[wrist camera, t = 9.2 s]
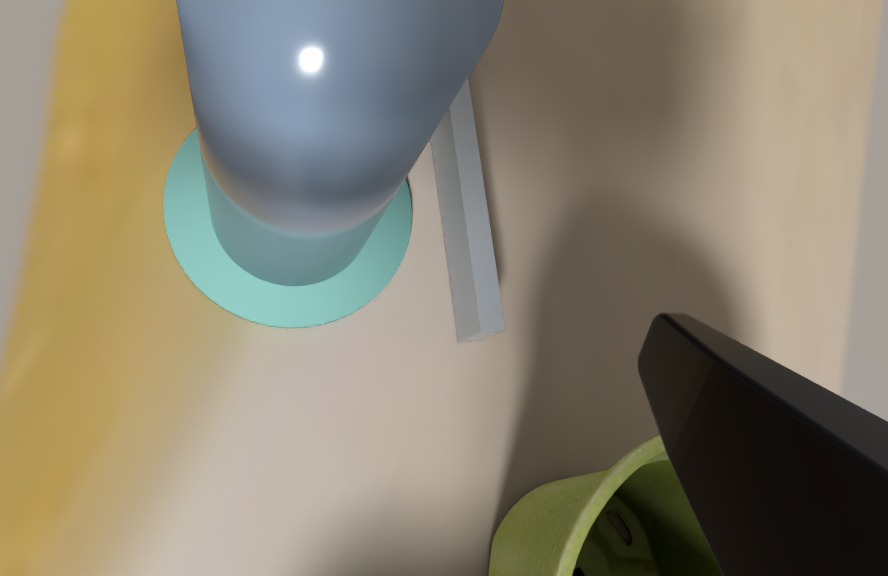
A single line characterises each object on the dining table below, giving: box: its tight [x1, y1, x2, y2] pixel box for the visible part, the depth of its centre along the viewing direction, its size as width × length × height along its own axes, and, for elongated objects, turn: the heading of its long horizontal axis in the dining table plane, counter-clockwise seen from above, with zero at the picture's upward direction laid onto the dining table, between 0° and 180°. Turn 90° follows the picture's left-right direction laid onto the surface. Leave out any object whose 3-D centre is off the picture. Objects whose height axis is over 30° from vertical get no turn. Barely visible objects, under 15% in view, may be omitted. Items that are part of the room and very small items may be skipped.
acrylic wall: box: [431, 78, 505, 343], centre depth 24 cm, size 12×1×2 cm, turn 8°
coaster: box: [163, 128, 412, 328], centre depth 23 cm, size 8×8×1 cm
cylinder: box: [176, 0, 504, 286], centre depth 17 cm, size 5×5×13 cm
